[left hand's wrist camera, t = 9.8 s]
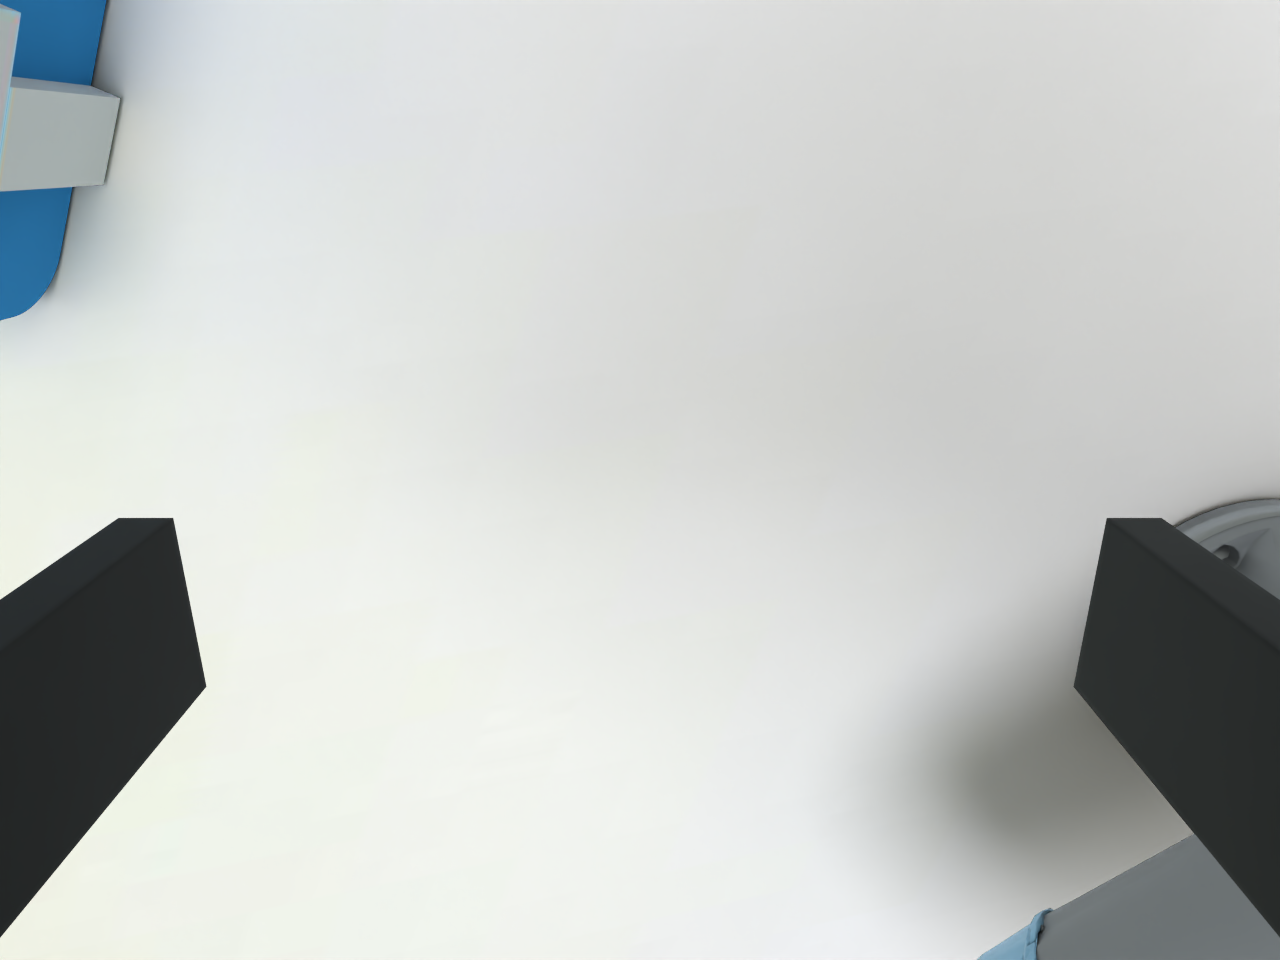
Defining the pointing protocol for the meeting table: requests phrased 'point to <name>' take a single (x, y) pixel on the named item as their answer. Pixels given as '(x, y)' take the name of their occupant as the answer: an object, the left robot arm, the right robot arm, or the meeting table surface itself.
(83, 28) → the logo
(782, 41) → the meeting table surface
